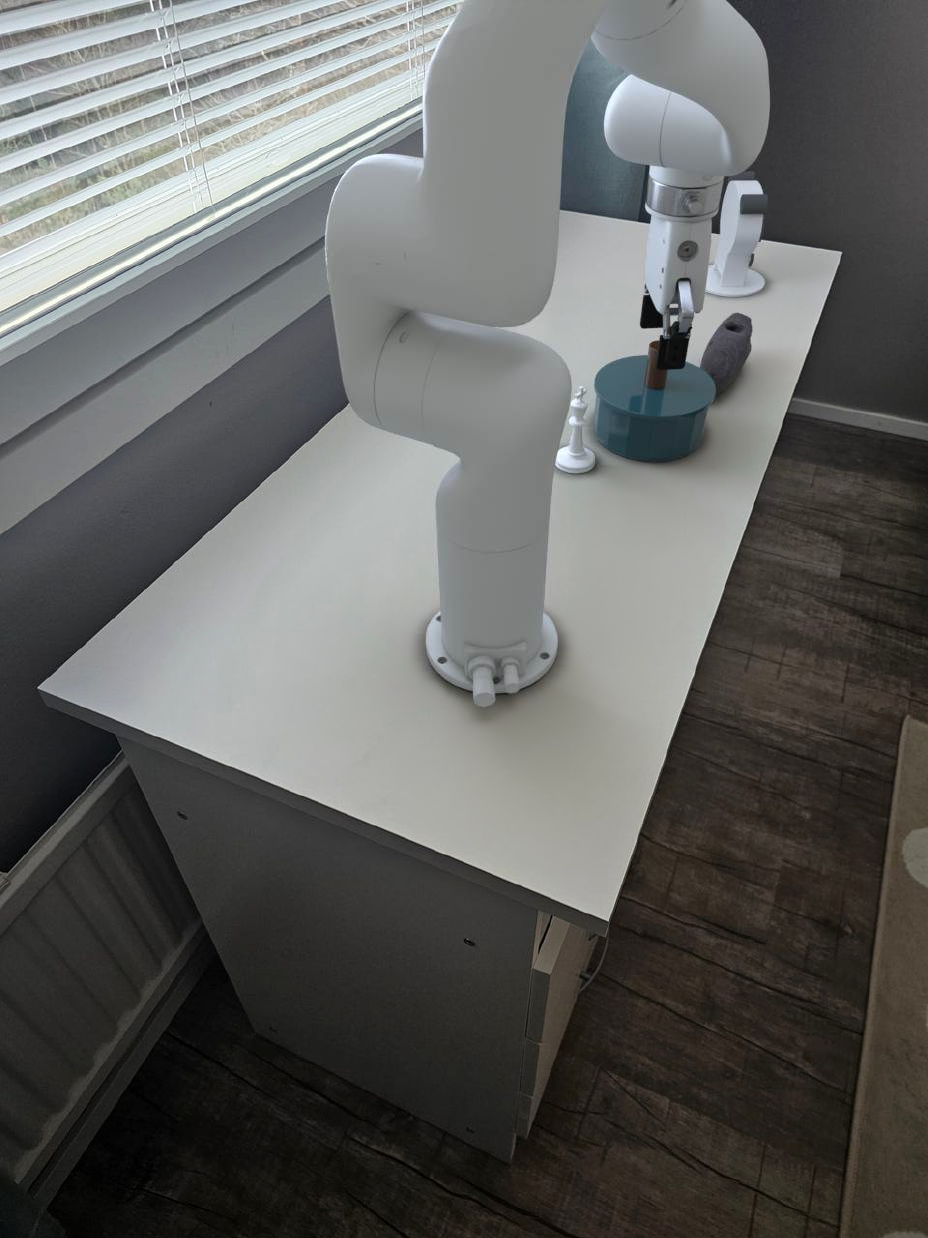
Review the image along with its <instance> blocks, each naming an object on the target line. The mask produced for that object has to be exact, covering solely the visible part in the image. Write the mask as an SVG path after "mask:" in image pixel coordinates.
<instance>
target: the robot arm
mask: <svg viewBox="0 0 928 1238" xmlns="http://www.w3.org/2000/svg"><path fill="white" fill-rule="evenodd" d="M590 39H591V41H592V43H593V45H594V47H595V49H596V50H597V51H598V52H599V54H600V55H601V56H602V57H603V58H604V59H606V60H607V61H608V62H610V64H612V65H614V66H615V67H617V68H619V69H620V70H623V71H625V72H626V73H628V74H629V75H628V76H627V77H625V78H624V79H623V80H622V81H621V82H620V83H619V84H618V85H617V87H616V88H615V89H614V91H613V92H612V94H611V96H610V98H609V100H608V102H607V105H606V108H605V113H604V118H603V133H604V138H605V142H606V144H607V146H608V148H609V150H610V151H611V153H613V154H614V155H615V156H617V157H618V158H620V159H621V160H623V161H626V162H630V163H635V164H638V165H639V164H640V165H646V166H649V170H648V171H649V172H648V178H647V186H646V187H647V188H646V194H645V195H646V196H645V204H644V208H645V211H646V213H648V214H649V215H650V223H649V229H648V235H647V242H646V249H645V257H644V268H643V269H644V270H643V272H644V273H643V277H644V287H643V290H644V291H643V292H644V294H643V295H642V296H643V297H642V301H641V302H642V304H641V311H640V319H639V327H640V329H647V330H648V329H662V334H659V338H658V340H659V345H658V352H657V359H656V368H657V369H658V370H674V369H683V368H684V367H685V362H687V356H688V350H689V344H690V339H691V337H692V336H691V335H692V329H693V321H694V318H695V314H700V313H701V312H702V311H703V308H704V303H705V297H706V292H705V290H706V282H707V274H708V267H709V265H710V259H711V258H710V257H711V246H712V231H713V228H712V227H713V224H712V223H713V221H712V220H713V219H712V218H714V217H716V215H718V213H719V209H720V203H721V198H722V191H723V186H724V180H725V177H729V176H733V175H737V174H739V173H741V172H746V170H748V169H749V168H750V167H751V166H752V165H753V163H754V162H755V161H756V160H757V158H758V156H759V154H760V153H761V151H762V148H763V146H764V143H765V141H766V137H767V132H768V128H769V123H770V121H769V120H770V111H771V109H770V108H771V90H770V80H769V79H770V77H769V75H770V74H769V61H768V57H767V52H766V48H765V47H764V44H763V41H762V39H761V37H760V36H759V35H758V33H757V32H756V30H755V29H754V27H752V25H751V24H750V23H749V22H748V20H746V19H745V18H744V17H743V16H742V14H741V13H739V12H738V10H736V9H735V8H734V7H733V6H732V5H731V3H730V2H728V1H727V0H464V3H463V4H462V5H461V7H460V8H459V10H458V11H457V13H456V14H455V15H454V17H453V18H452V20H451V22H450V23H449V24H448V26H447V28H446V29H445V30H444V33H443V34H442V36H441V38H440V39H439V42H438V43H437V45H436V47H435V49H434V51H433V54H432V55H431V58H430V61H429V63H428V66H427V68H426V73H425V75H424V79H423V88H422V101H421V105H422V111H421V112H422V141H423V143H422V145H423V148H422V150H423V151H422V152H423V154H422V155H423V157H417V156H413V155H412V156H411V155H406V154H398V153H377V154H372V155H371V154H370V155H368V156H365V157H363V158H361V159H359V160H357V161H356V162H355V163H353V164H352V165H351V166H350V167H349V168H348V169H347V170H346V171H345V172H344V174H343V175H342V176H341V178H340V179H339V181H338V183H337V185H336V187H335V189H334V192H333V193H332V196H331V200H330V203H329V209H328V211H327V212H328V213H327V217H326V222H325V234H324V235H325V236H324V257H325V266H326V276H327V283H328V290H329V296H330V303H331V311H332V318H333V325H334V331H335V338H336V345H337V351H338V359H339V365H340V371H341V378H342V383H343V388H344V391H345V395H346V398H347V400H348V403H349V406H350V407H351V408H352V411H353V412H354V413H355V414H356V416H357V417H359V419H360V420H361V421H363V422H364V423H366V424H368V425H369V426H371V427H374V428H377V429H378V430H381V431H384V432H388V433H390V434H394V435H397V436H401V437H404V438H407V439H410V440H412V441H413V440H414V441H417V442H420V443H423V444H427V445H430V446H433V447H434V448H437V449H440V450H443V451H447V452H449V453H450V454H454V455H455V456H457V458H459V460H458V461H457V462H456V463H455V464H454V465H453V466H452V467H451V468H450V469H449V470H448V471H447V472H446V474H445V475H444V477H443V478H442V480H441V481H440V483H439V486H438V488H437V491H436V494H435V501H434V502H435V505H434V507H435V528H436V543H437V544H436V547H437V548H436V549H437V569H438V590H439V592H438V593H439V607H440V608H439V611H438V612H437V613H436V614H435V615H434V616H433V617H432V619H431V620H430V621H429V622H430V623H429V624H428V626H427V629H426V633H425V649H426V656H427V658H428V661H429V663H430V666H432V668H433V669H434V670H435V672H436V673H437V674H438V675H439V676H441V678H443V679H444V680H445V681H447V682H449V683H450V684H452V685H454V686H456V687H458V688H460V689H464V690H466V691H469V692H472V698H473V699H472V701H473V703H474V705H475V706H477V707H480V708H487V707H491V706H492V705H494V704H495V702H496V694H503V693H504V694H505V693H508V694H512V695H513V694H517V693H518V692H519V691H520V690H521V689H523V688H526V687H529V686H531V685H533V684H534V683H535V682H537V681H539V680H540V679H541V678H542V677H543V676H545V675H546V674H547V673H548V672H549V670H550V669H551V668H552V667H553V664H554V663H555V660H556V657H557V654H558V646H559V637H558V636H559V635H558V631H557V629H556V625H555V624H554V622H553V620H552V619H551V617H550V616H549V615H548V614H547V613H546V612H545V611H544V610H545V594H546V581H547V580H546V579H547V564H548V551H549V550H548V547H549V536H550V535H549V534H550V533H549V532H550V519H551V518H550V517H551V505H552V503H551V502H552V492H553V484H554V483H553V482H554V475H555V467H556V465H555V463H556V458H557V453H558V450H559V449H560V445H561V440H562V436H563V433H564V430H565V425H566V422H567V418H568V414H569V411H570V407H571V401H572V390H573V389H572V388H573V385H572V384H573V383H572V382H573V381H572V376H571V372H570V369H569V367H568V365H567V363H566V361H565V360H564V359H563V358H562V356H561V355H560V354H559V352H557V351H556V350H554V349H553V348H552V347H550V346H549V345H548V344H546V343H544V342H543V341H540V340H537V339H535V338H533V337H531V336H529V335H526V334H522V333H519V332H515V331H512V330H508V329H505V328H516V327H519V326H524V325H526V324H528V323H530V322H532V321H533V320H534V319H535V318H537V317H538V316H539V315H540V314H541V313H542V312H543V311H544V309H545V307H546V306H547V304H548V302H549V300H550V298H551V295H552V289H553V286H554V281H555V277H556V276H555V275H556V269H557V259H558V249H559V234H560V233H559V232H560V214H561V196H562V195H561V191H562V189H561V188H562V171H563V170H562V169H563V153H564V134H565V122H566V112H567V105H568V98H569V94H570V91H571V87H572V82H573V79H574V76H575V73H576V71H577V68H578V66H579V63H580V61H581V58H582V55H583V53H584V51H585V49H586V47H587V45H588V43H589V40H590ZM671 305H677V307H670V306H671ZM675 316H677V320H676V321H673V323H672V324H671V317H675Z"/></svg>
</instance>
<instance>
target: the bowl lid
mask: <svg viewBox="0 0 928 1238" xmlns="http://www.w3.org/2000/svg"><path fill="white" fill-rule="evenodd" d="M658 345H659V339H658V340H653V341H651V342H650V343H649V344H648V351H647V354H639V355H632V356H631V355H630V356H626V357H621V358H618V359H615V360H612V361H610V362H608V363H606V364H605V365H603V366H602V367H601V368H600V369H599V370H598V372H597V373H596V375H595V377H594V382H593V387H594V388H593V389H594V392H595V395H596V394H597V396H598V397H599V399H600V400H601V401H602V402H603V403H604V404H606V405H607V406H608V407H610V408H612V409H613V410H615V411H618V412H620V413H622V414H625V415H628V416H631V417H635V418H640V419H647V420H658V421H667V420H677V419H683V418H687V417H691V416H694V415H696V414H698V413H701V412H702V411H704V410H705V409H707V408H708V407H709V408H710V406H711V405H712V403H713V402H714V400H715V397H716V396H715V393H716V386H715V383H714V381H713V380H712V378H711V377H710V376H709V375H708V374H707V373H706V372H705V371H704V370H702V369H701V368H700V366H697V365H696V364H693V363H691V362H689V361H686V362H685V367H684V368H683V369H674V370H658V369H657V368H656V359H657V352H658Z"/></svg>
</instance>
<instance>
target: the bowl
mask: <svg viewBox="0 0 928 1238" xmlns="http://www.w3.org/2000/svg"><path fill="white" fill-rule="evenodd" d="M709 409H710V406H709V407H708V408H707V409H705V410H704V411H702V412H701V413H698V414H696V415H694V416H691V417H687V418H683V419H677V420H667V421H658V420H647V419H640V418H635V417H631V416H628V415H625V414H622V413H620V412H618V411H615V410H613V409H612V408H610V407H608V406H607V405H606V404H604V403H603V402H602V401H601V400H600V399H599V397H598V396H597V394H596V393H595V404H594V414H593V433H594V436H595V438H596V439H597V441H598V442H599V443H600V445H602V446H603V447H604V448H605V449H607V450H608V451H610V452H612V453H614V454H616V455H618V456H621V457H623V458H626V459H628V460H629V459H630V460H633V461H640V462H648V463H661V462H669V461H675V460H678V459H682V458H684V457H687V456H689V455H690V454H691V453H693V452H695V451H696V450H697V449H698V448H699V446H700V445H701V443H702V440H703V436H704V432H705V429H706V423H707V419H708V413H709Z"/></svg>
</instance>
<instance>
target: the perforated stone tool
mask: <svg viewBox="0 0 928 1238" xmlns="http://www.w3.org/2000/svg"><path fill="white" fill-rule="evenodd" d="M752 334H753V324H752V318H751V317H749V316H748V315H745V314H744V313H740V312H733V313H731V314H730V315H729V316H728V317H727V318H725V319H724V320H723V321H722V322H721V323H720V325H719V326H718V327H717V329H716V330H715V331H714V333H713V334H712V336H711V338H710V339H709V341H708V343H707V345H706V347H705V349H704V352H703V354H702V356H701V360H700V365H699V368H701V369H702V370H704V371H705V372H706V373H707V374H708V375H709V376H710V377H711V378H712V380H713V381H714V383H715V386H716V393H715V397H716V396H718V395H719V394H721V393H723V392H724V391H725V390H726V389H727V388H728V387H729V386H730V385H731V384H732V382H733V381H734V380H735V378H736V377H737V376H738V375H739V373H740V371H741V370H742V368H743V367H744V366H745V364H746V362H747V360H748V358H749V356H750V354H751V352H752V340H751V338H752Z"/></svg>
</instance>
